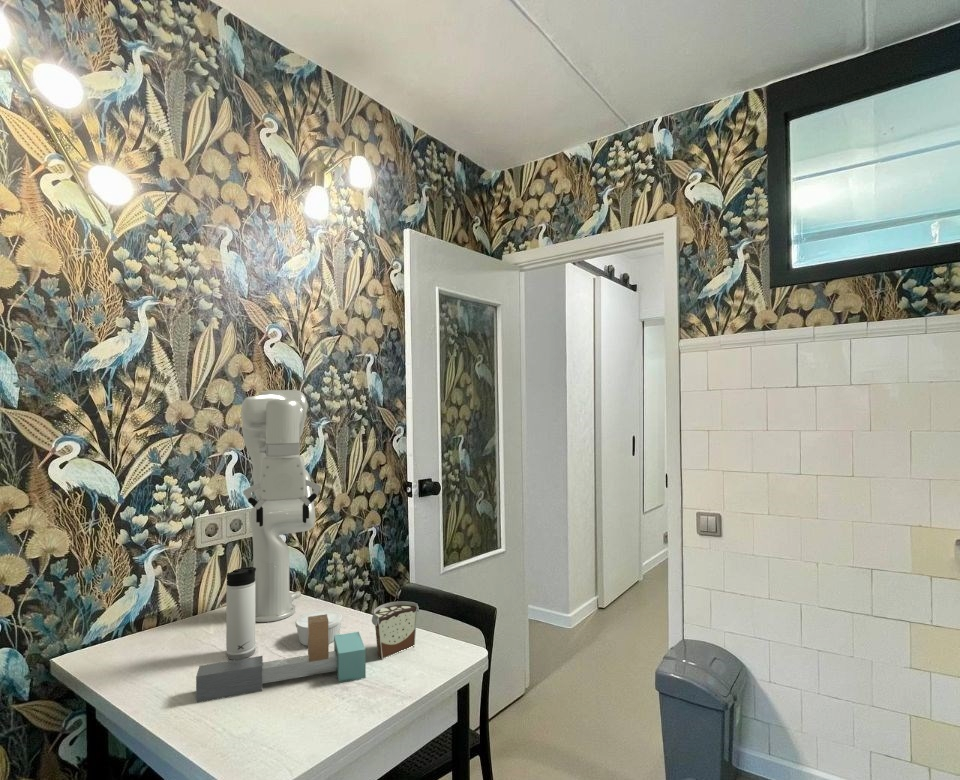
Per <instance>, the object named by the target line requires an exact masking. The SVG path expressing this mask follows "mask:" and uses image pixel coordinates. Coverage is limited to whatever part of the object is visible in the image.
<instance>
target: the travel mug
mask: <svg viewBox="0 0 960 780" xmlns="http://www.w3.org/2000/svg"><path fill="white" fill-rule="evenodd" d="M255 571H256V568H255V567H253V566H246V567H241V568H237V569H234V570H232V571H231V572H227V573H226V590H225V591H226V593H225V594H226V601H225V602H226V604H225V605H226V610H225V611H226V612H225V614H226V621H225V622H226V624H225V625H226V627H225V629H226V630H225V631H226V635H225V637H226V640H225V641H226V642H225V643H226V644H225V647H226V650H225V651H226V653H225V654H226V658H227V659H228V660H230V661H233V660H239V659H245V658H251V656H253V655H254V654H255V653H256V622H255Z"/></svg>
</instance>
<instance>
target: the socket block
mask: <svg viewBox="0 0 960 780" xmlns="http://www.w3.org/2000/svg"><path fill="white" fill-rule="evenodd" d="M333 645H334V647H333V649H334V650H333V651H337V668H338V671H335V672H336V677H337V680H338V683H345V682H351V681H350V680H352V681H357V680H361V678H363V679H366V678H367V677H366V673H367V672H366V667H367V666H366V647H365V645H364V641H363V639H362V636H361V634H360V632H359V631H354V632H348V633H341V634H339V635H334V643H333ZM356 679H357V680H356Z"/></svg>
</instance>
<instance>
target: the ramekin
mask: <svg viewBox="0 0 960 780" xmlns="http://www.w3.org/2000/svg"><path fill="white" fill-rule="evenodd" d="M325 614H327V617H328V641H329V644H332V643H333V642H334V635H341V634H340V633H341V632H340V631H341V628H342V627H341V626H342V620H343V615H342V613H341V612H339V611H337V610H330V609H329V610H328V609H326V610H325V609H324V610H315V611H310V612H307V613H305V614H302V615H300V616H299V617H297V619H296V620H295V627H296V630H297V636H298V640H299V642H300V644H302V645H303V646H306V647H308V617H311V616H318V615H325Z"/></svg>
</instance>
